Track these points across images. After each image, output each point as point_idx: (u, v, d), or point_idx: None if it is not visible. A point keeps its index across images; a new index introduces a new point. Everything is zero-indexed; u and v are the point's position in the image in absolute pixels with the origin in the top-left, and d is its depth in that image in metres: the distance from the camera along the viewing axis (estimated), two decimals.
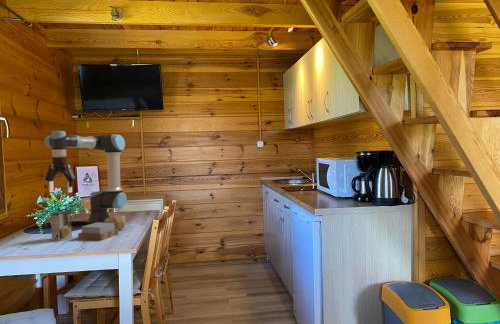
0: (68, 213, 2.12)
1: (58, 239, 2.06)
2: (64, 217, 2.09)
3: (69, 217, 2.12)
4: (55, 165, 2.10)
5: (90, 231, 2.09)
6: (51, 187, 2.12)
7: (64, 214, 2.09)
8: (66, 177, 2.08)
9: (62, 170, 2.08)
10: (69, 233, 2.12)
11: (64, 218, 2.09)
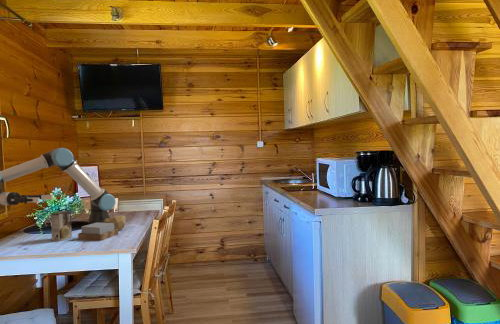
0: (68, 213, 2.12)
1: (58, 239, 2.06)
2: (64, 217, 2.09)
3: (69, 217, 2.12)
4: None
5: (90, 231, 2.09)
6: (47, 197, 2.17)
7: (64, 214, 2.09)
8: None
9: None
10: (69, 233, 2.12)
11: (64, 218, 2.09)
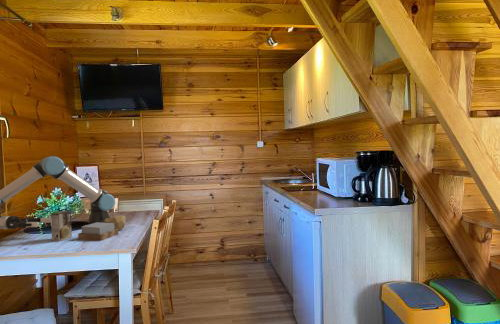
0: (68, 213, 2.12)
1: (58, 239, 2.06)
2: (64, 217, 2.09)
3: (69, 217, 2.12)
4: None
5: (90, 231, 2.09)
6: (46, 220, 2.17)
7: (64, 214, 2.09)
8: None
9: None
10: (69, 233, 2.12)
11: (64, 218, 2.09)
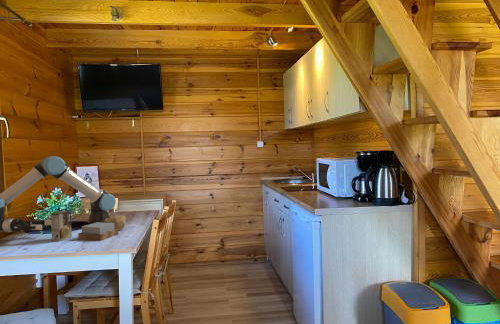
0: (68, 213, 2.12)
1: (58, 239, 2.06)
2: (64, 217, 2.09)
3: (69, 217, 2.12)
4: None
5: (90, 231, 2.09)
6: (50, 223, 2.17)
7: (64, 214, 2.09)
8: None
9: None
10: (69, 233, 2.12)
11: (64, 218, 2.09)
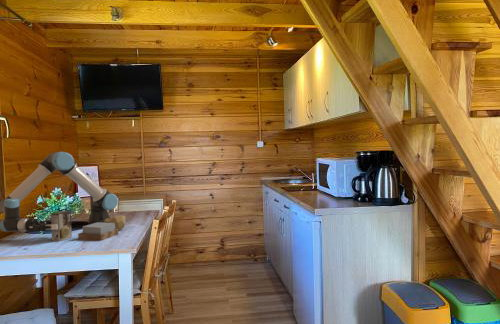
0: (68, 213, 2.12)
1: (58, 239, 2.06)
2: (64, 217, 2.09)
3: (69, 217, 2.12)
4: None
5: (91, 231, 2.09)
6: None
7: (64, 214, 2.09)
8: None
9: None
10: (69, 233, 2.12)
11: (64, 218, 2.09)
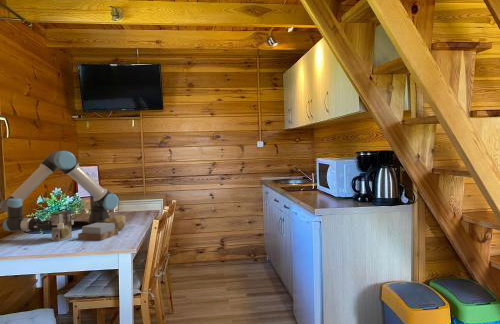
0: (68, 213, 2.12)
1: (58, 239, 2.06)
2: (64, 217, 2.09)
3: (69, 217, 2.12)
4: None
5: (91, 231, 2.09)
6: None
7: (64, 214, 2.09)
8: None
9: None
10: (69, 233, 2.12)
11: (64, 218, 2.09)
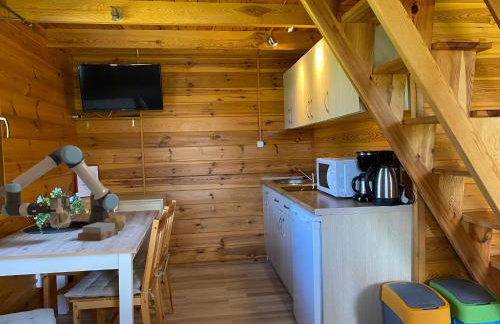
0: (67, 198, 2.11)
1: (57, 223, 2.06)
2: (63, 201, 2.08)
3: (68, 202, 2.12)
4: None
5: (91, 231, 2.09)
6: None
7: (63, 198, 2.08)
8: None
9: None
10: (68, 218, 2.12)
11: (63, 202, 2.08)
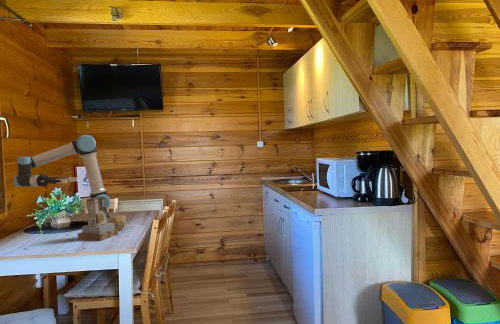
0: (102, 199, 2.16)
1: (95, 224, 2.10)
2: (99, 202, 2.13)
3: (103, 203, 2.17)
4: None
5: (90, 231, 2.10)
6: (73, 179, 2.34)
7: (99, 199, 2.13)
8: None
9: (48, 183, 2.25)
10: (104, 218, 2.16)
11: (99, 203, 2.13)
